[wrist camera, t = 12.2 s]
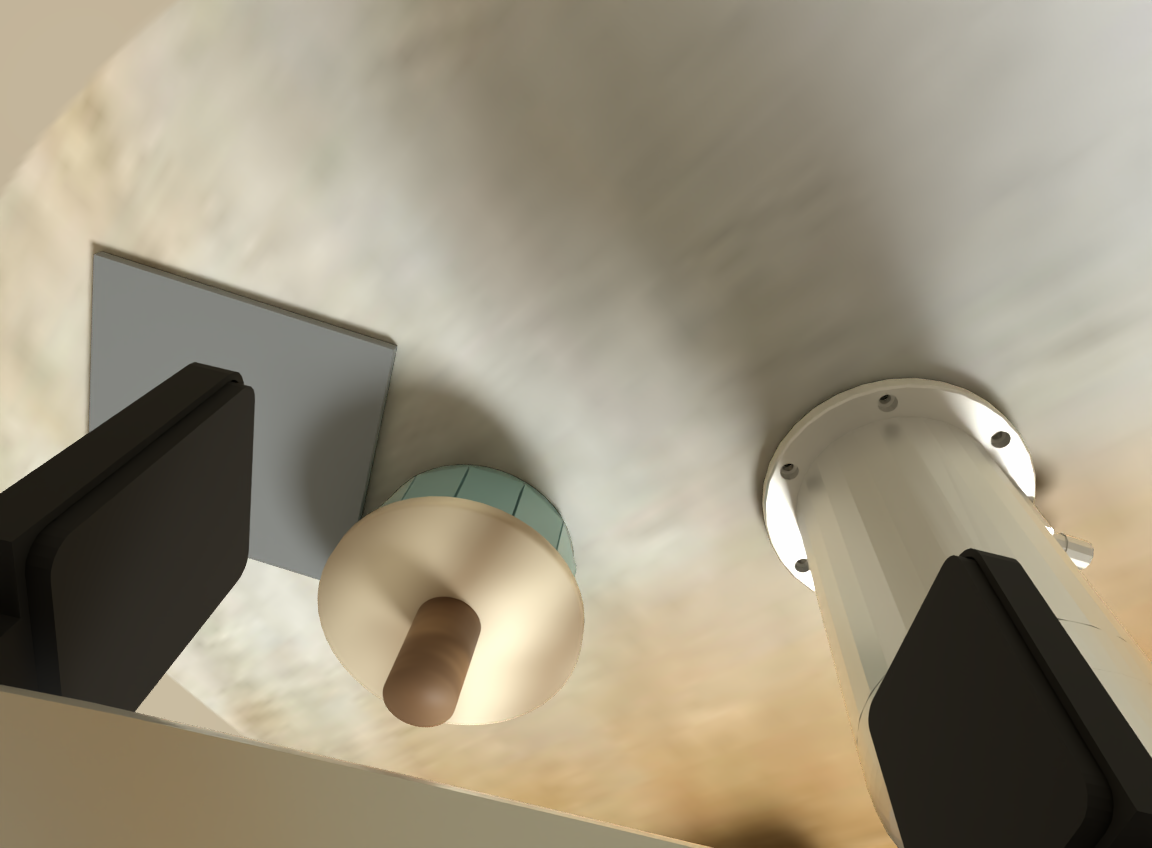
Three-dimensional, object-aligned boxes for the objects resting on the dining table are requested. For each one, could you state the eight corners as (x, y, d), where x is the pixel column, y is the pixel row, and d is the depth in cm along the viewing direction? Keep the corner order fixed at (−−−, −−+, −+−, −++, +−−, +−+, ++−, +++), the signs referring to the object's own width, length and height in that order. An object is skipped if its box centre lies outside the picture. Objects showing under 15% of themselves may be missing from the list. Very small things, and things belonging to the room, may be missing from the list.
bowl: (599, 502, 42) (590, 556, 38) (543, 655, 47) (529, 720, 42) (397, 438, 42) (364, 485, 37) (361, 599, 47) (328, 658, 42)
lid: (618, 544, 37) (609, 629, 32) (545, 739, 43) (526, 838, 37) (347, 461, 37) (291, 532, 31) (309, 668, 42) (256, 758, 37)
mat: (397, 345, 40) (393, 349, 39) (347, 581, 46) (344, 587, 46) (101, 251, 39) (93, 254, 39) (93, 502, 46) (86, 507, 45)
